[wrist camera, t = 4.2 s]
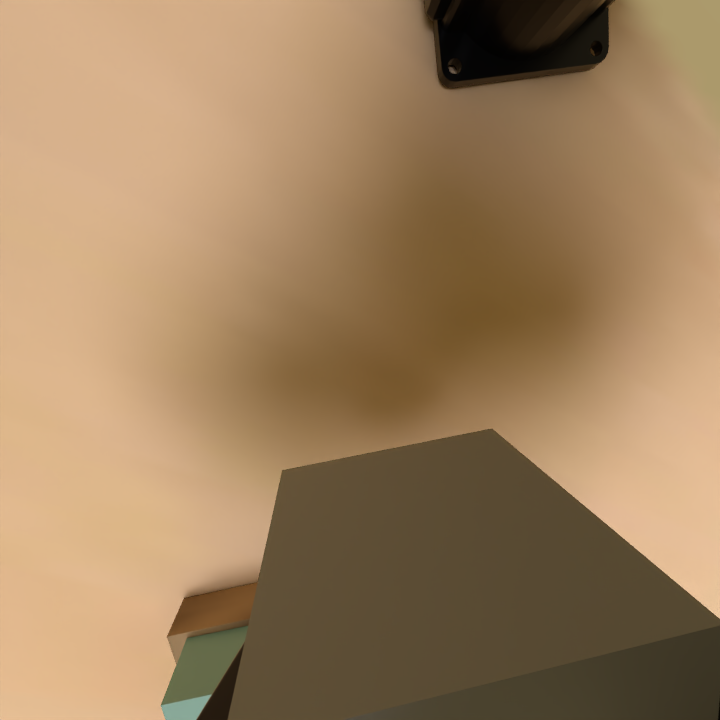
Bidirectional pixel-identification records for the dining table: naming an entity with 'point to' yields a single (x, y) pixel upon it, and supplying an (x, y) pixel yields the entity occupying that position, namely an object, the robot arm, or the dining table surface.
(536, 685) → the grey cube
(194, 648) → the tower top
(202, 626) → the tower bottom
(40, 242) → the dining table surface
